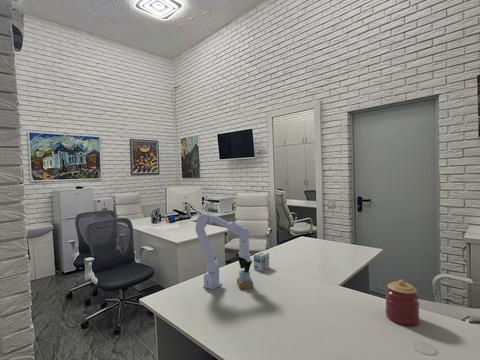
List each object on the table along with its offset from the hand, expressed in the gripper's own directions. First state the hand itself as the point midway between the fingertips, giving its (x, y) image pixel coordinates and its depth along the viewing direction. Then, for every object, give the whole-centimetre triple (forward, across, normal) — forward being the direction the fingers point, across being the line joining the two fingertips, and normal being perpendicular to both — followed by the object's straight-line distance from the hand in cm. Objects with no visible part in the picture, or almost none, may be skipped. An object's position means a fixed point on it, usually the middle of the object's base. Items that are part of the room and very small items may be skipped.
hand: (244, 270), depth 158 cm
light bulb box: (+10, +23, -22) cm, 33 cm away
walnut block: (+10, 0, 0) cm, 10 cm away
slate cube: (+6, 0, 0) cm, 6 cm away
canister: (+10, -60, -53) cm, 81 cm away
